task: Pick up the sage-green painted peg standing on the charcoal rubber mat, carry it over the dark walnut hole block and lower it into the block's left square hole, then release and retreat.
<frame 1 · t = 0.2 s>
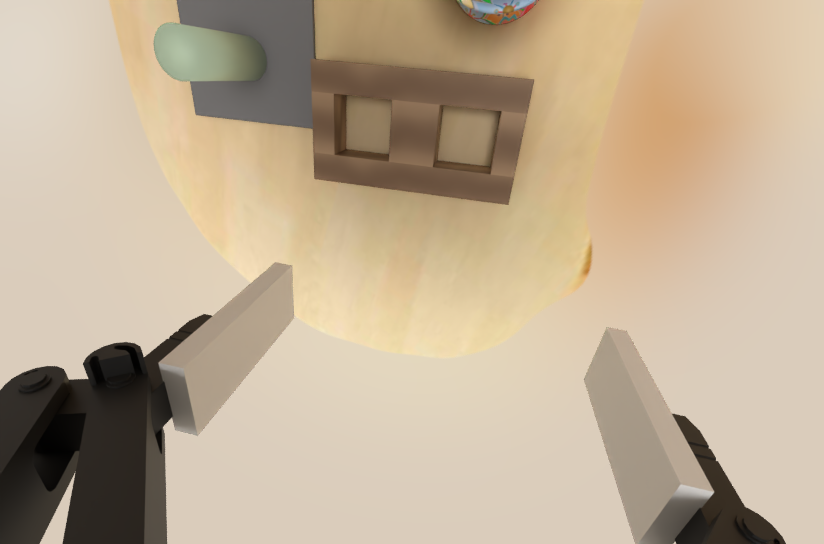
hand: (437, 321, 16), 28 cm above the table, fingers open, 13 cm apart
walnut hole block: (419, 130, 39), on the table
rubber mat: (249, 47, 39), on the table
sage peg: (248, 58, 39), resting on rubber mat
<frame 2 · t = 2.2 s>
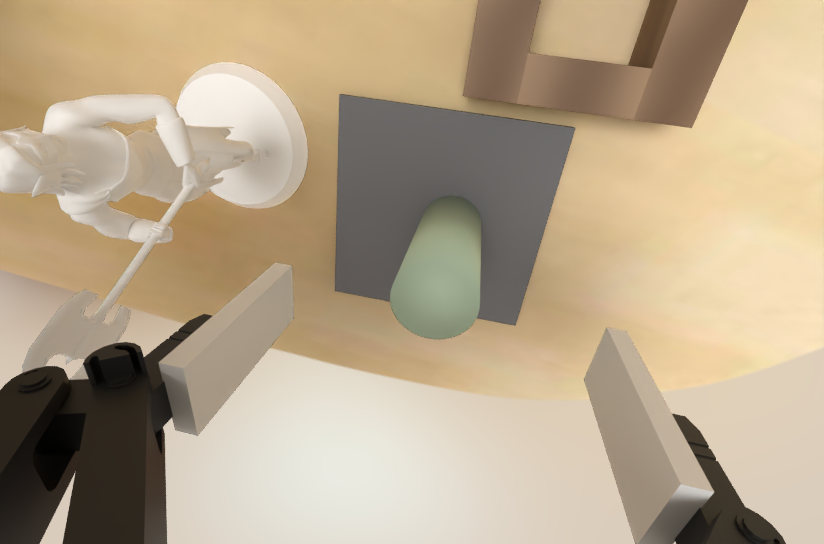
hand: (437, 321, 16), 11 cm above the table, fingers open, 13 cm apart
rubber mat: (437, 220, 26), on the table
figurine: (242, 143, 26), on the table
sage peg: (451, 224, 26), resting on rubber mat
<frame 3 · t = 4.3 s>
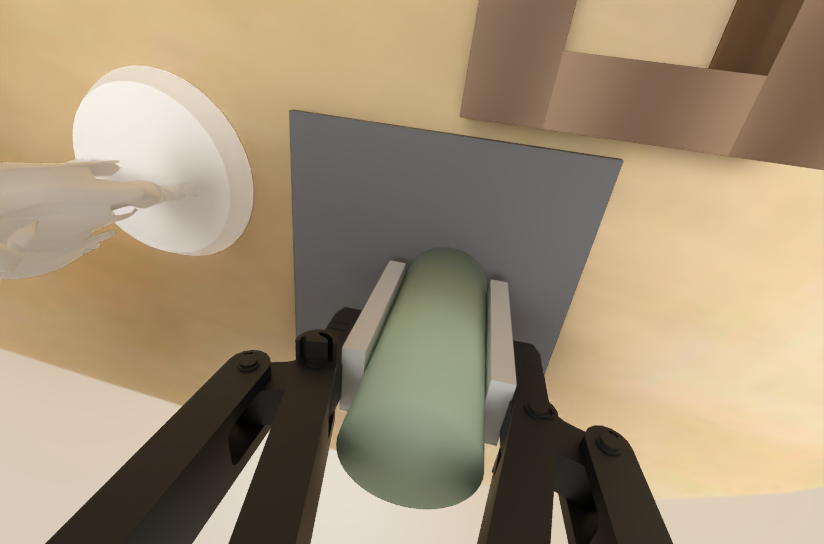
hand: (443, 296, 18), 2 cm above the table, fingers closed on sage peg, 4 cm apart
rubber mat: (427, 277, 19), on the table
figurine: (169, 173, 20), on the table
sage peg: (445, 284, 19), resting on rubber mat, touching gripper
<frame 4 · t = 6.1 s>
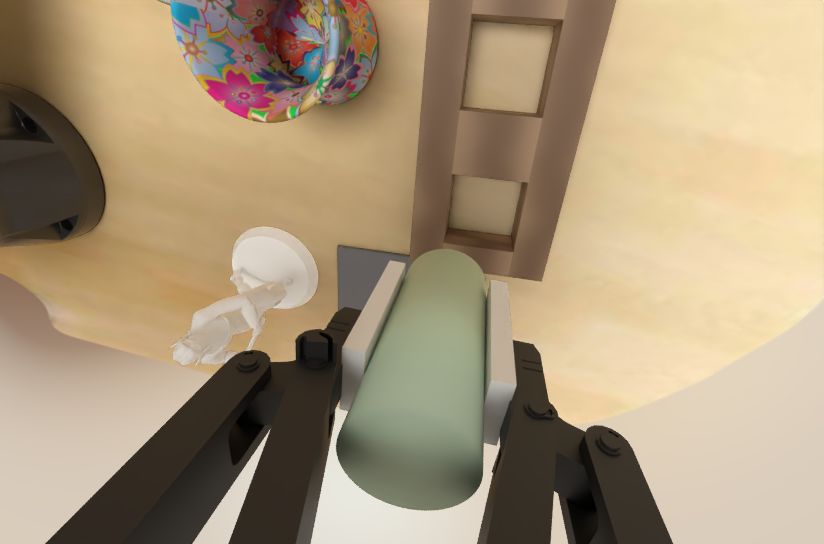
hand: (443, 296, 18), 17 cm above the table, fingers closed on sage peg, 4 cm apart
walnut hole block: (494, 140, 30), on the table
rubber mat: (405, 316, 39), on the table
figurine: (275, 270, 40), on the table
sage peg: (445, 285, 19), point 16 cm above the table, touching gripper
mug: (311, 38, 29), on the table
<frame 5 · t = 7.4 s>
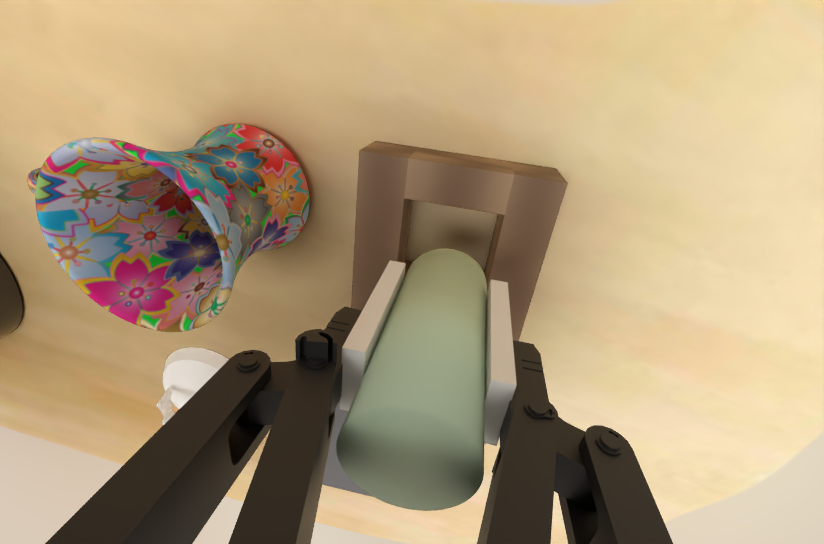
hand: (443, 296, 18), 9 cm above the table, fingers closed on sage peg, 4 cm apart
walnut hole block: (439, 294, 28), on the table
rubber mat: (349, 441, 37), on the table
figurine: (211, 386, 37), on the table
sage peg: (445, 285, 19), point 7 cm above the table, touching gripper
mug: (239, 179, 27), on the table
when the fingers open (4 cm above the table, at t = 8.2 s): sage peg drops 2 cm, resting in walnut hole block.
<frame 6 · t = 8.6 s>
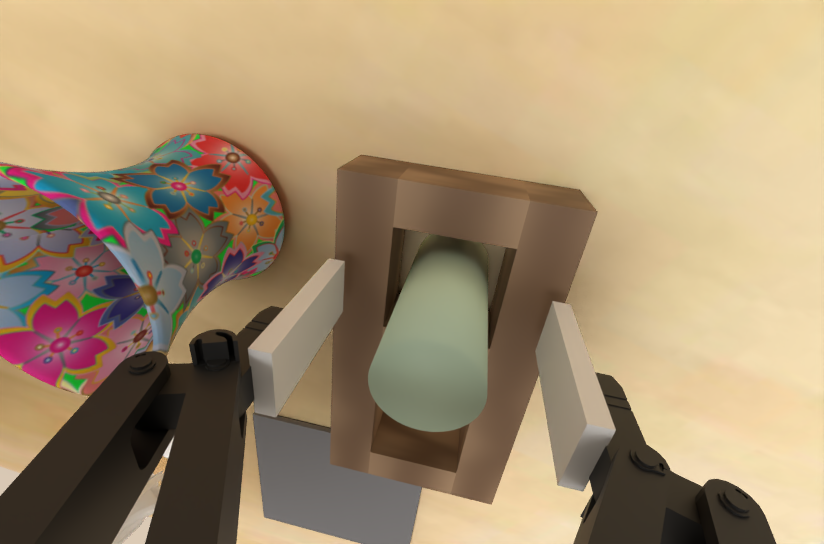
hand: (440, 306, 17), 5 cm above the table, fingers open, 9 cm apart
walnut hole block: (437, 332, 24), on the table
rubber mat: (337, 486, 33), on the table
figurine: (184, 422, 33), on the table
sage peg: (452, 261, 21), resting in walnut hole block
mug: (205, 198, 23), on the table
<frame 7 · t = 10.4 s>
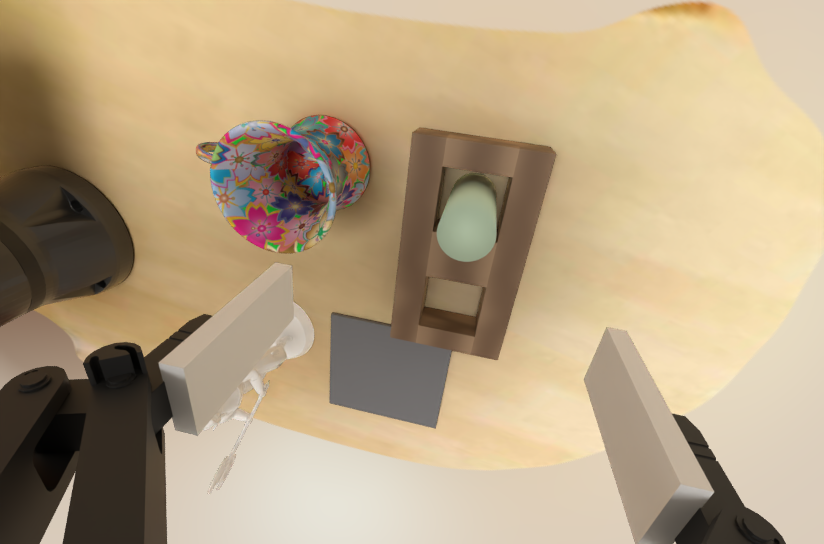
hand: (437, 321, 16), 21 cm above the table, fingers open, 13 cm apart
walnut hole block: (462, 245, 37), on the table
rubber mat: (387, 372, 46), on the table
figurine: (277, 327, 46), on the table
sage peg: (473, 195, 35), resting in walnut hole block
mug: (316, 157, 36), on the table
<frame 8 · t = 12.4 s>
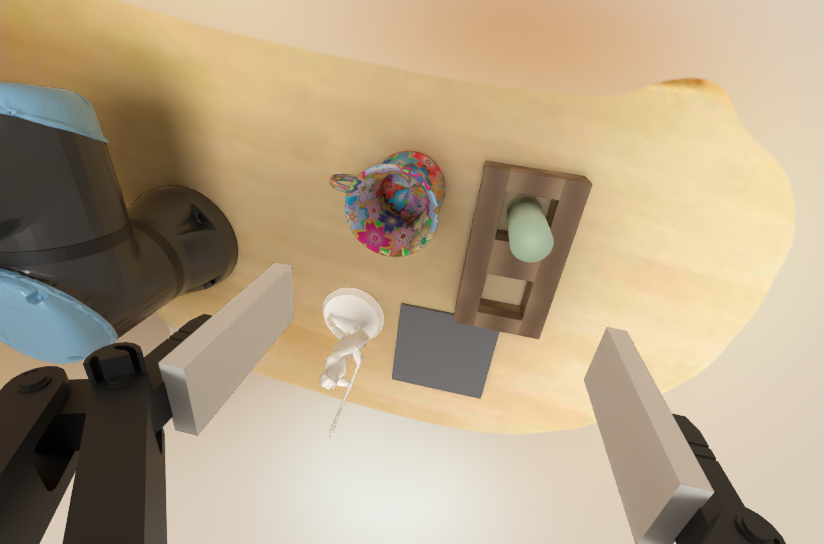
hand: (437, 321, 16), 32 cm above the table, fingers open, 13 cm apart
walnut hole block: (513, 249, 47), on the table
rubber mat: (442, 352, 56), on the table
figurine: (353, 315, 57), on the table
sage peg: (523, 211, 45), resting in walnut hole block
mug: (400, 181, 46), on the table
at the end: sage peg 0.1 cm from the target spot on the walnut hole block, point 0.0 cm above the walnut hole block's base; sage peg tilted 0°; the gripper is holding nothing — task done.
